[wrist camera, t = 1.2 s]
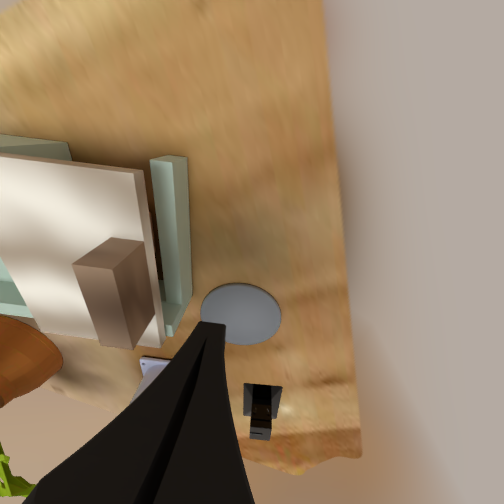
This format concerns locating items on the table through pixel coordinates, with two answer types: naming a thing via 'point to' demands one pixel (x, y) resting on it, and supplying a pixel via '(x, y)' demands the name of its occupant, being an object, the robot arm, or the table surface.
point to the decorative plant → (22, 380)
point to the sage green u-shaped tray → (168, 222)
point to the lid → (81, 249)
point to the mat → (242, 313)
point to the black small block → (261, 408)
